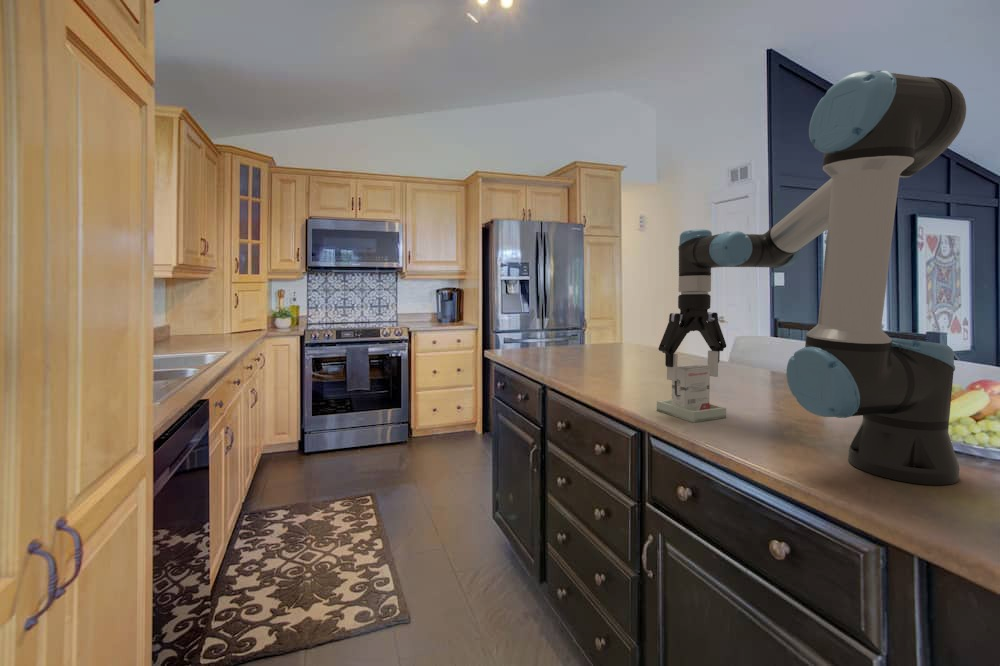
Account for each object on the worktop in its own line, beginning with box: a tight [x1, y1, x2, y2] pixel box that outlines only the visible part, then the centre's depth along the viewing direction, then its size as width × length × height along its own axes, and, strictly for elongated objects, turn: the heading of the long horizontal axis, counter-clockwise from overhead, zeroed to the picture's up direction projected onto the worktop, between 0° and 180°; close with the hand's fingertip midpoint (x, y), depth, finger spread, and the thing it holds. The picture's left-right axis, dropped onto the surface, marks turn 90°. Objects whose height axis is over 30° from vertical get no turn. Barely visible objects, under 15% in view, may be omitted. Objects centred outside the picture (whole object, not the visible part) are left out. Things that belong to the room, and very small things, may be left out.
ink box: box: [671, 363, 711, 411], centre depth 124 cm, size 9×5×12 cm, turn 116°
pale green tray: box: [656, 399, 727, 423], centre depth 125 cm, size 13×11×2 cm
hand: (692, 378), depth 124 cm, fingers open, 13 cm apart
